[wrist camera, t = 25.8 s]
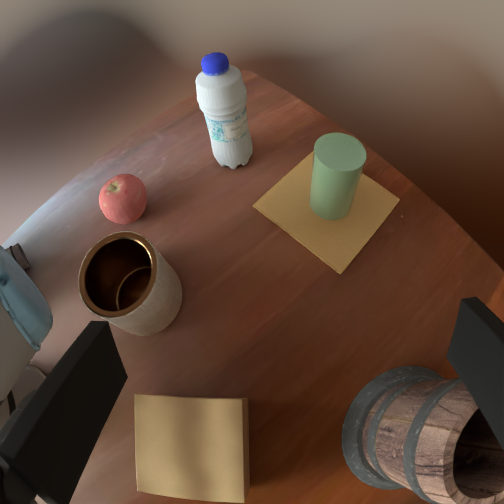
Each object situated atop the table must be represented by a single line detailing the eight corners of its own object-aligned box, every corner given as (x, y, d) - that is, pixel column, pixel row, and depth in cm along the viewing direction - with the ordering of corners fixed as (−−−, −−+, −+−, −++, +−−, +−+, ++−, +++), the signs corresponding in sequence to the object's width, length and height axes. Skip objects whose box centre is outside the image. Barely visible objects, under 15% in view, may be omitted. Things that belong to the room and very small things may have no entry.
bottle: (233, 180, 49) (210, 74, 31) (206, 160, 52) (176, 60, 34) (263, 156, 51) (252, 51, 33) (235, 138, 53) (216, 39, 35)
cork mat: (252, 206, 47) (252, 204, 46) (319, 147, 51) (319, 145, 50) (340, 275, 41) (340, 273, 41) (399, 201, 45) (400, 199, 45)
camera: (47, 300, 45) (21, 267, 37) (11, 326, 41) (-20, 298, 33) (22, 243, 51) (2, 208, 43) (-10, 265, 46) (-33, 233, 38)
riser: (156, 479, 31) (137, 490, 26) (154, 394, 36) (134, 393, 31) (250, 487, 31) (244, 503, 25) (248, 397, 36) (242, 398, 30)
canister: (299, 202, 46) (303, 151, 36) (326, 177, 47) (333, 125, 38) (334, 228, 44) (347, 180, 34) (359, 200, 45) (376, 150, 35)
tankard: (371, 511, 27) (433, 582, 9) (318, 408, 34) (357, 422, 16) (505, 412, 30) (605, 400, 12) (462, 317, 37) (555, 259, 19)
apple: (112, 237, 47) (87, 211, 40) (114, 200, 50) (92, 171, 43) (155, 227, 47) (135, 197, 40) (154, 189, 50) (136, 157, 43)
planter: (107, 278, 44) (72, 250, 35) (172, 250, 45) (148, 216, 36) (122, 347, 39) (84, 332, 31) (194, 320, 40) (170, 299, 32)
